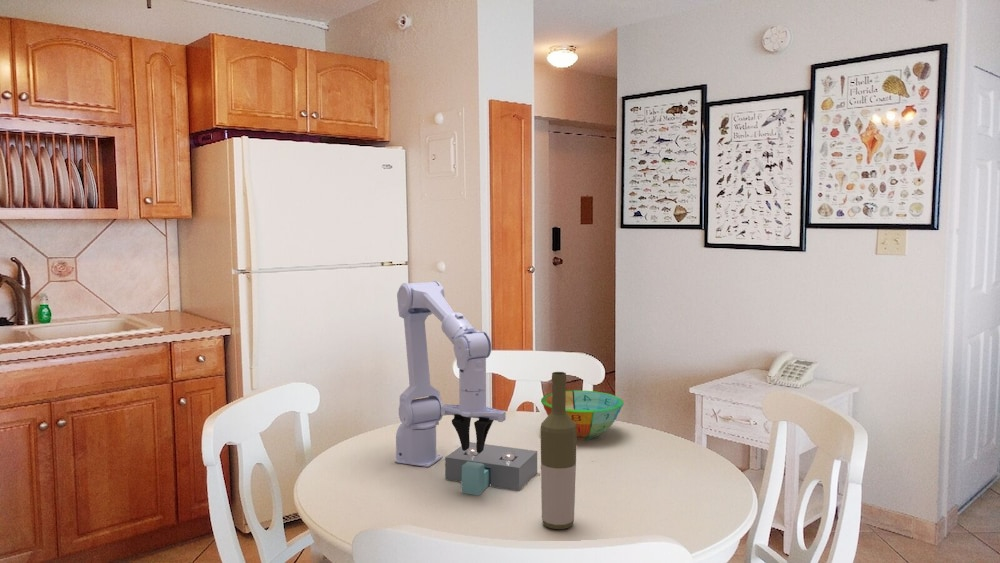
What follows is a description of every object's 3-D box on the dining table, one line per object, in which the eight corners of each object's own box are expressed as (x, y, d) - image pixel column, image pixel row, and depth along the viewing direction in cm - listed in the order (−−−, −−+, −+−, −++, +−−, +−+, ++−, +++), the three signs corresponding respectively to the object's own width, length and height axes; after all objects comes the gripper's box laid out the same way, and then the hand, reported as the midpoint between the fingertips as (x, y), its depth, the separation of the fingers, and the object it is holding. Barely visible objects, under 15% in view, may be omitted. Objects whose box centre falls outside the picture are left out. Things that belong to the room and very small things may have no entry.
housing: (445, 479, 163) (445, 457, 162) (467, 462, 174) (467, 441, 173) (519, 490, 156) (519, 467, 155) (537, 472, 167) (537, 451, 166)
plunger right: (500, 466, 161) (500, 455, 161) (505, 462, 164) (505, 451, 163) (511, 468, 160) (511, 456, 160) (516, 464, 163) (516, 453, 162)
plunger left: (464, 461, 164) (464, 450, 164) (469, 457, 167) (469, 446, 167) (475, 462, 163) (475, 451, 163) (480, 459, 166) (480, 448, 166)
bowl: (629, 449, 183) (630, 411, 183) (542, 449, 184) (542, 411, 183) (616, 424, 206) (617, 390, 205) (539, 423, 206) (539, 389, 205)
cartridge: (461, 492, 154) (461, 465, 154) (489, 469, 168) (489, 445, 168) (478, 495, 153) (478, 468, 152) (504, 472, 167) (504, 447, 166)
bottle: (542, 515, 143) (543, 368, 140) (577, 518, 142) (579, 370, 139) (537, 530, 136) (538, 376, 134) (573, 533, 135) (575, 378, 132)
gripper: (433, 389, 152) (434, 451, 153) (496, 396, 147) (496, 460, 148) (448, 382, 159) (449, 442, 160) (509, 388, 153) (509, 450, 154)
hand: (472, 450), depth 154 cm, fingers open, 3 cm apart
